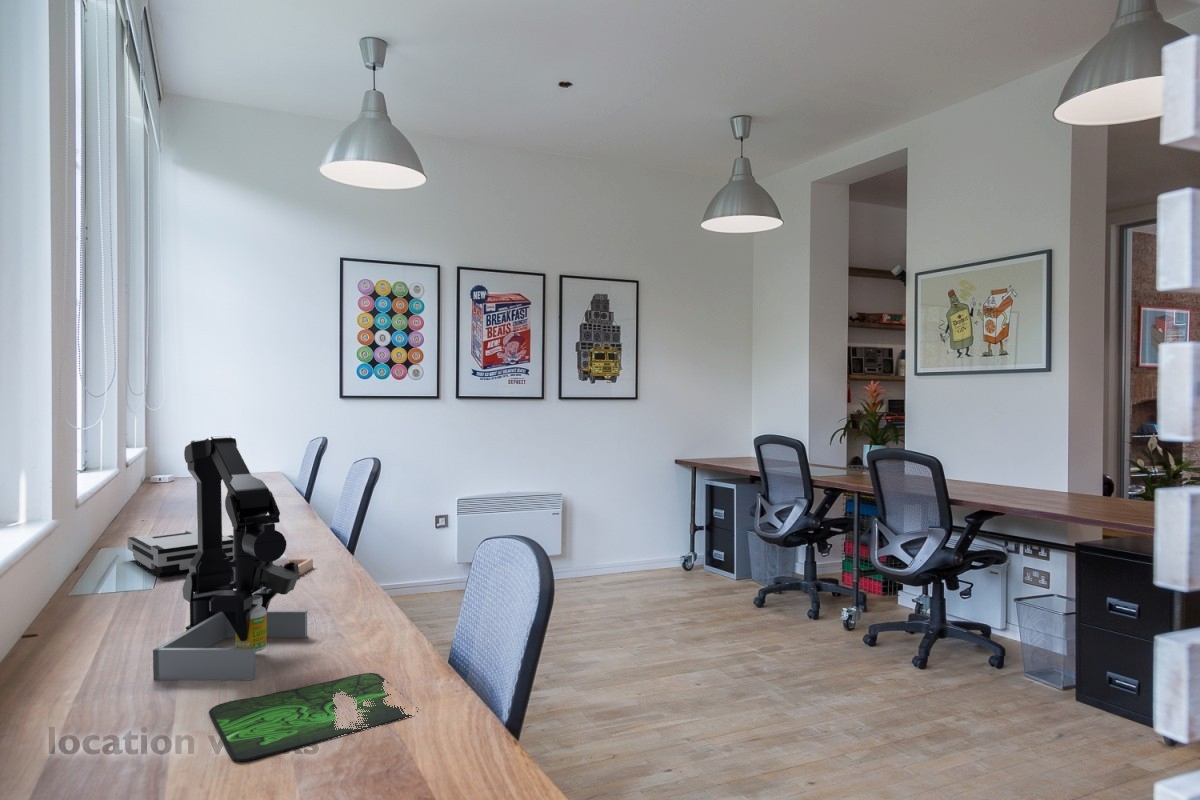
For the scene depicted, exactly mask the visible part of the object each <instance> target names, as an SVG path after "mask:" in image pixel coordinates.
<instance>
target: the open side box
mask: <svg viewBox="0 0 1200 800" xmlns="http://www.w3.org/2000/svg"><path fill="white" fill-rule="evenodd" d="M306 637H308V610H267V639H268V638H277V639H278V638H281V639H283V638H285V639H286V638H291V639H292V638H295V639H296V638H297V639H299V638H303V639H305V638H306ZM225 638H236V632H235V630H234V629H233V627H232V625H231V624H230V622H229V620H228V619H227V618H226V616H225V615H224V613H223V612H219V613H217V614H215V615H214V616H212V617H210V618H208V619H206V620H205V621H203V622H201V623H199V624H198V625H196V626H194V627H192V628H191V629H189V630H185V631H184V632H182V633H180V634H178V635H177V636H175V637H174V638H171V639H170V640H168V641H166V642H165V643H163V644H160V645H159V646H157V647H155V648H154V649H152V664H153V665H152V669H153V670H152V674H153V676H152V678H153V680H154V681H156V680H159V681H161V680H164V681H165V680H169V681H171V680H172V681H174V680H175V681H177V680H178V681H181V680H182V681H185V680H186V681H187V680H188V681H189V680H190V681H191V680H192V681H253V680H255V679H256V652H255V648H236V647H212V646H214V645H215V644H217V643H218V642H220V641H222V640H223V639H225Z"/></svg>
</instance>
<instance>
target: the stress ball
mask: <svg viewBox="0 0 1200 800" xmlns="http://www.w3.org/2000/svg"><path fill="white" fill-rule="evenodd" d="M289 559H290V558H289V557H288V556H287V555H286V554H284V553H283V555H282V556H281V557H280V558H279V559H277V560H275V561H273V565H277V566H280V565H282V567H284V566H285V565H286V564H287V563H289Z"/></svg>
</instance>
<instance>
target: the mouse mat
mask: <svg viewBox="0 0 1200 800" xmlns="http://www.w3.org/2000/svg"><path fill="white" fill-rule="evenodd" d="M384 680H386V679H385V678H384V677H383V676H381V675H380V674H378V673H375V672H366V673H359V674H353V675H349V676H345V677H342V678H339V679H334V680H331V681H330V680H329V681H324V682H320V683H319V682H318V683H315V684H310V685H306V686H302V687H297V688H292V689H287V690H282V691H281V690H280V691H277V692H273V693H269V694H265V695H260V696H259V695H258V696H252V697H245V698H240V699H236V700H230V701H225V702H223V703H219V704H217V705H214V706H212V708H209V711H208V715H209V717H210V720H211V721H212V723H213V725H214V726H215V728H216V731H217V733H218V734H219V736H220V738H221V740H222V742H223V743H224V746H225V747H226V748H225V749H226V750H227V751H228V753H229V756H230V758H231V759H232V760H233V761H235V762H245V761H253V760H256V759H261V758H265V757H269V756H273V754H274V755H277V754H281V753H280V752H282V753H284V751H285V752H289V751H293V750H296V749H300V748H304V747H308V746H311V745H310V744H312V745H314V743H315V744H318V742H319V743H321V741H323V742H326V741H329V740H328V739H330V740H333V739H332V738H334V737H338V736H341V735H344V734H348V735H350V734H349V733H352V732H356V733H358V732H357V731H359V732H362V731H361V730H363V729H367V728H370V729H372V728H371V727H374V728H377V727H376V726H378V727H380V726H379V725H381V726H383V724H384V725H386V724H385V723H387V724H390V723H392V721H394V722H395V721H396V720H397V721H400V720H399V719H401V720H404V719H403V718H405V717H409V716H412V715H409V714H408V715H406V714H405V713H404V711H403V709H402V708H401V706H400V709H401V711H402V712H403V713H404V714H402V712H401V711H400V709H399V707H398V706H397V708H396V707H395V705H394V708H393V706H392V707H390V705H389V706H387V704H386V705H385V704H384V703H383V700H384V699H383V698H385V697H387V696H389V694H388V693H387V695H386V693H385V691H384V689H383V687H384V686H383V683H382V682H384ZM382 686H383V687H382ZM339 689H340V690H339ZM381 689H382V690H381ZM341 691H343V692H345V693H347V694H346V696H347V695H348V697H351V698H352V697H353V699H354V697H355V699H356V700H357V709H355V710H356V711H357V710H359V709H360V710H361V709H362V710H363V709H364V710H365V711H366V710H367V711H368V710H369V711H370V712H369V711H368V712H367V711H366V712H363V713H362V712H361V713H362V715H363V714H364V715H365V716H364V715H363V716H361V717H363V718H364V720H365V721H364V720H363V719H362V720H363V722H364V723H361V724H362V725H361V724H360V723H359V724H360V725H356V724H358V723H355V726H356V728H357V726H358V728H361V729H358V728H357V729H354V730H353V728H352V729H351V728H350V729H348V728H347V729H346V728H345V729H344V728H343V729H341V728H340V729H339V728H338V730H337V728H336V726H335V725H336V724H334V723H335V721H336V720H335V719H336V717H335V714H333V713H334V712H335V710H334V709H335V708H336V709H337V707H336V705H335V704H334V702H333V699H332V698H334V697H335V694H336V692H337V693H340V692H341ZM333 694H334V697H333ZM340 695H341V694H340ZM342 695H343V694H342ZM344 695H345V694H344ZM349 695H350V696H349ZM351 695H352V696H351ZM390 695H391V694H390ZM355 699H354V701H355ZM368 699H369V701H370V702H371V701H372V702H371V705H372V707H371V705H370V703H369V705H370V707H369V706H368V707H367V706H363V702H364V700H365V701H366V700H367V701H368ZM370 699H371V700H370ZM367 701H366V702H367ZM369 701H368V702H369ZM373 701H374V702H373ZM359 702H360V703H359ZM384 702H385V700H384ZM387 702H388V701H387ZM353 703H354V702H353ZM355 703H356V701H355ZM372 703H373V704H372ZM374 703H375V704H374ZM385 703H386V702H385ZM367 704H368V703H367ZM354 705H355V704H354ZM365 705H366V704H365ZM373 705H374V706H373ZM375 705H376V706H375ZM334 707H335V708H334ZM360 707H361V708H360ZM358 708H359V709H358ZM404 709H405V708H404ZM362 710H361V711H362ZM364 710H363V711H364ZM332 712H333V713H332ZM335 713H336V712H335ZM358 713H360V712H358ZM358 713H357V714H358ZM361 713H360V714H361ZM358 715H359V714H358ZM366 715H367V716H366ZM336 716H337V715H336ZM358 717H360V716H358ZM358 717H357V718H358ZM365 718H366V719H365ZM367 718H368V719H367ZM409 718H410V717H409ZM337 719H338V718H337ZM405 719H406V718H405ZM332 720H333V721H332ZM334 720H335V721H334ZM358 720H359V719H358ZM360 720H361V719H360ZM366 720H367V721H366ZM397 721H396V722H397ZM356 722H357V721H356ZM358 722H359V721H358ZM361 722H362V721H361ZM389 722H390V723H389ZM336 723H337V721H336ZM350 723H351V722H350ZM352 723H353V722H352ZM363 724H365V725H363ZM366 724H367V726H368V727H363V728H362V726H366ZM368 724H369V725H368ZM350 725H351V724H350ZM353 725H354V724H353ZM334 726H335V727H334ZM342 726H343V725H342ZM359 726H361V727H359ZM337 727H338V726H337ZM349 727H350V726H349ZM351 727H352V726H351ZM353 727H354V726H353ZM335 728H336V730H335ZM367 730H368V729H367ZM363 731H364V730H363ZM352 734H353V733H352ZM341 737H342V736H341ZM338 738H339V737H338ZM334 739H335V738H334ZM325 740H326V741H325ZM307 745H308V746H307ZM303 746H304V747H303ZM292 749H293V750H292ZM276 753H277V754H276Z"/></svg>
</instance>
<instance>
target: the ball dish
mask: <svg viewBox="0 0 1200 800" xmlns="http://www.w3.org/2000/svg"><path fill="white" fill-rule="evenodd" d="M288 559H289V562H291V561H292V562H295V563H298V568H299V572H300V574H299V575H300V576H301V575H303V574H305V573H306V572H307V571H310V570H311V569H313V568H314V558H288Z"/></svg>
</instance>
